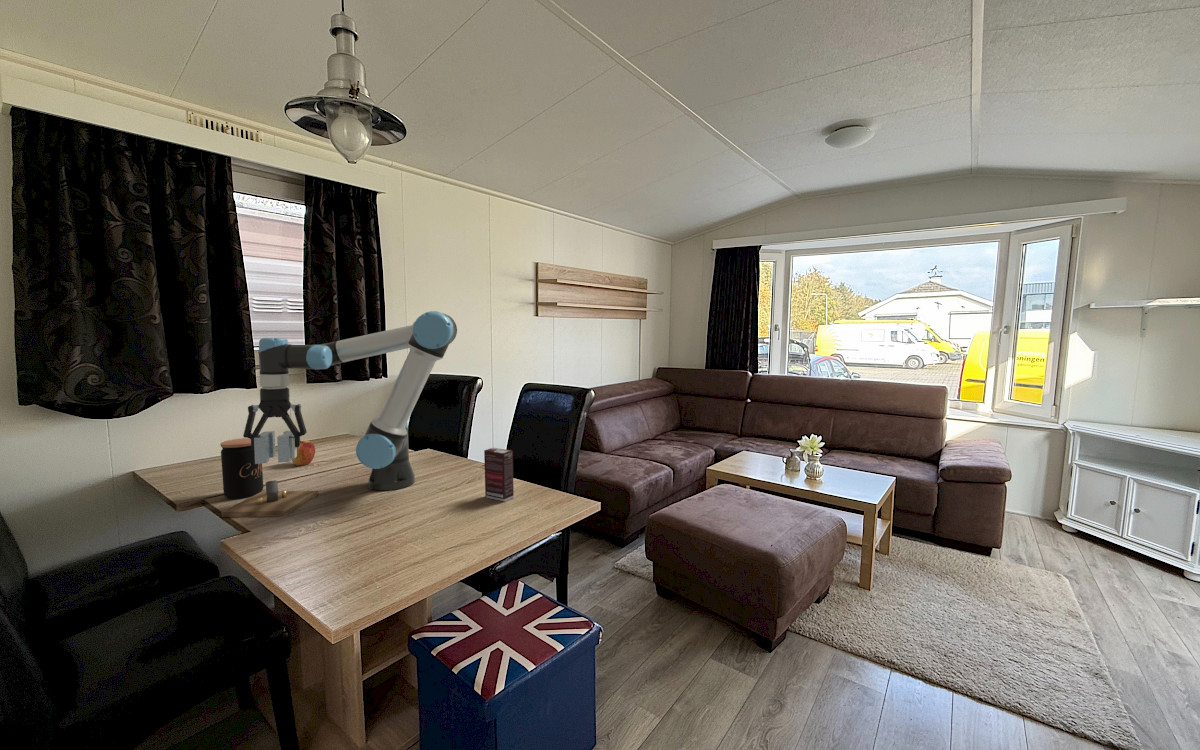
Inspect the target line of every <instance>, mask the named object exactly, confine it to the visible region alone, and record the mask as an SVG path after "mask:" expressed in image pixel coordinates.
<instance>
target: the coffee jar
mask: <svg viewBox="0 0 1200 750" xmlns="http://www.w3.org/2000/svg"><path fill="white" fill-rule="evenodd" d="M219 446H220V447H221V448H222V449H221V451H220V459H221V475H222V489H223V495H224V497H226V498H227V499H229V500H242V499H248V498H250V497H252V496H254V495H256V494H258V493H260V492H262V491H263V490H264V476H263V475H264V473H263V463H261V464H255V450H254V449H252V448H251V439H250V438H247V437H246V438H245V437H242V438H235V439H229V440H225V441H223V442H220V445H219Z"/></svg>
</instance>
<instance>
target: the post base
mask: <svg viewBox="0 0 1200 750" xmlns="http://www.w3.org/2000/svg"><path fill="white" fill-rule="evenodd" d="M278 485H279V484H278V480H274V479H273V480H269V481H268V480H267V481H266V482H265V491H263V490H262V491H261V492H260V493H258V494H256V495H254V496H252V497H248V498H245V499H243V500H242V501H240V502H238V503H236V504H234V505H233V506H230V507H229V508H226V509H225V510H222V511H221V518H229V517H230V518H231V517H232V518H234V517H235V518H237V517H239V518H240V517H241V518H243V517H244V518H245V517H246V518H247V517H248V518H249V517H285V516H287V515H289V514H290V513H292V512H293V511H295V510H297V509H298V508H300V507H301V506H303V505H305V504H307V503H308V502H309V501H311V500H313V499H314V498H316V497H317V496H319V492H318V490H285V491H286V495H287V497H286V498H282V491H283V490H281V491H280V490H279V488H278V487H279V486H278ZM259 497H262V498H263V504H262V505H258V498H259Z"/></svg>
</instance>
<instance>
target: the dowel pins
mask: <svg viewBox="0 0 1200 750" xmlns="http://www.w3.org/2000/svg"><path fill="white" fill-rule="evenodd" d="M281 491H282V498H286V497H287V495H286V491H287V490H281ZM262 504H263V498H262V497H259V498H258V505H262Z"/></svg>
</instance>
